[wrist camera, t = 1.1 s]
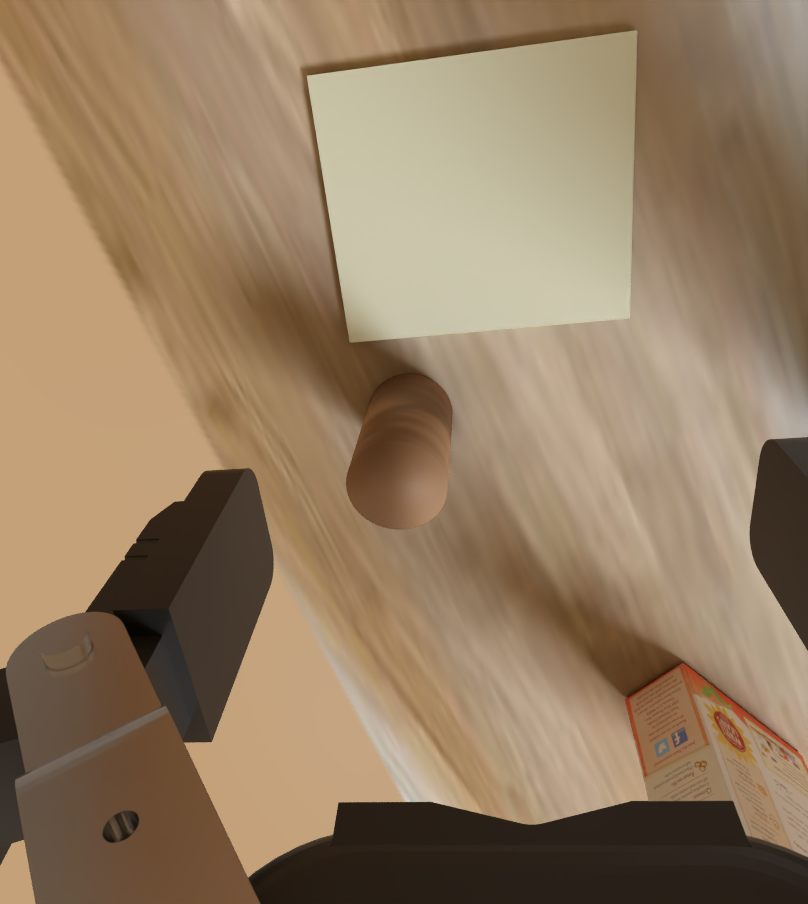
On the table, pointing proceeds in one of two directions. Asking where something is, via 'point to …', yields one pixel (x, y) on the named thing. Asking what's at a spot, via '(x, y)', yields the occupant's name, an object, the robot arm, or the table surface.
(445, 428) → the walnut cylinder
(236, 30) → the table surface
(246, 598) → the robot arm
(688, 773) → the cracker box
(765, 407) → the table surface
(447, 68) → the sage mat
